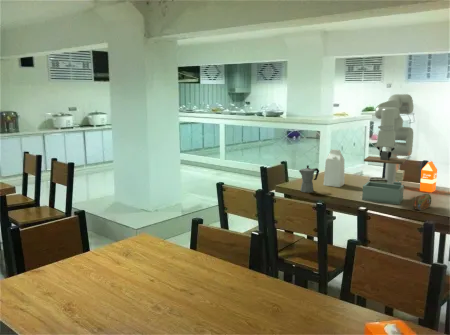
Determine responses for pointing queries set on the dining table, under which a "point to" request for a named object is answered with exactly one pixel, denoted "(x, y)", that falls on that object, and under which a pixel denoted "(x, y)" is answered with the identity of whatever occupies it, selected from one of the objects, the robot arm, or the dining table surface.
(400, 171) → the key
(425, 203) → the tin
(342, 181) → the milk
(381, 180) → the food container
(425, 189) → the orange juice
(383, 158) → the lid
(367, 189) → the toolbox
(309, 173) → the coffeepot
